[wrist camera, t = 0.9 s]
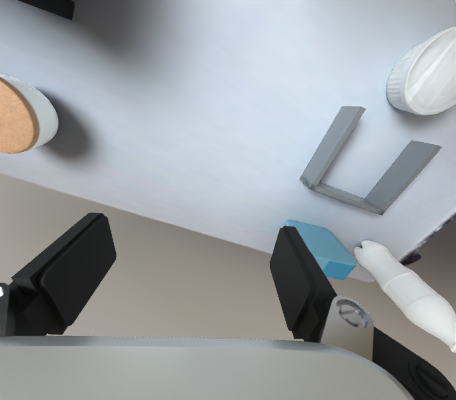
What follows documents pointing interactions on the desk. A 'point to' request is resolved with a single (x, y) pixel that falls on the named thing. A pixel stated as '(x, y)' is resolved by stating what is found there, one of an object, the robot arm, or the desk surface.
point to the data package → (325, 250)
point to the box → (387, 186)
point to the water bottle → (409, 292)
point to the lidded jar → (24, 116)
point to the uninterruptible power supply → (54, 6)
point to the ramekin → (426, 76)
